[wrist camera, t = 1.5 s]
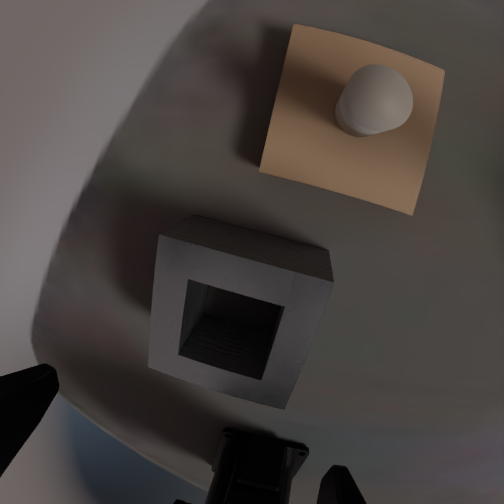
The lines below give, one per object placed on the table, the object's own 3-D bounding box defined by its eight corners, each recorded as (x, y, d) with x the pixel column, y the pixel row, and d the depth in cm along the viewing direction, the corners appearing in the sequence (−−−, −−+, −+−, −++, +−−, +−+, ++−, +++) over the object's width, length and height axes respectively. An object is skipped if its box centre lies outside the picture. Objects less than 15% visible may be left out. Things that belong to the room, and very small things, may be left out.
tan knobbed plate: (403, 209, 14) (452, 244, 9) (263, 169, 15) (234, 180, 9) (433, 77, 12) (492, 44, 6) (295, 35, 12) (284, -26, 7)
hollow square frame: (290, 362, 18) (284, 409, 14) (176, 328, 18) (147, 367, 15) (328, 250, 15) (333, 282, 12) (193, 214, 16) (158, 234, 12)
